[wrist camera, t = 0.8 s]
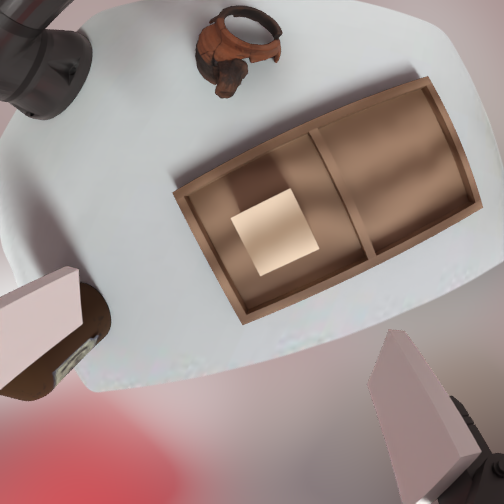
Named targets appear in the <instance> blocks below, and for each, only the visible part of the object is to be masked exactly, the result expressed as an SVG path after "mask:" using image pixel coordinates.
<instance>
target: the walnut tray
mask: <svg viewBox="0 0 504 504" xmlns="http://www.w3.org/2000/svg"><path fill="white" fill-rule="evenodd" d="M290 188H291V190H292V192H293V194H294V196H295V198H296V200H297V203H298V205H299V207H300V209H301V211H302V213H303V215H304V217H305V219H306V221H307V223H308V225H309V227H310V229H311V232H312V234H313V236H314V238H315V240H316V242H317V245H318V247H319V249H318V250H316V251H314V252H312V253H310V254H308V255H305V256H303V257H301V258H299V259H297V260H295V261H292V262H290V263H288V264H286V265H284V266H282V267H279V268H277V269H275V270H273V271H271V272H269V273H266V274H264V275H262V276H260V275H259V273H258V271H257V269H256V267H255V265H254V263H253V261H252V259H251V257H250V255H249V253H248V251H247V249H246V247H245V246H244V244H243V242H242V240H241V238H240V236H239V234H238V232H237V230H236V228H235V226H234V224H233V222H232V220H231V218H232V217H234V216H236V215H238V214H239V213H241V212H243V211H245V210H247V209H249V208H251V207H253V206H255V205H257V204H259V203H261V202H263V201H265V200H267V199H269V198H271V197H273V196H275V195H277V194H279V193H281V192H284V191H286V190H288V189H290ZM173 195H174V197H175V199H176V201H177V203H178V205H179V207H180V209H181V211H182V213H183V215H184V217H185V219H186V221H187V223H188V225H189V227H190V229H191V231H192V233H193V235H194V237H195V238H196V240H197V242H198V244H199V246H200V248H201V250H202V252H203V254H204V256H205V257H206V259H207V261H208V263H209V265H210V267H211V269H212V271H213V272H214V274H215V276H216V278H217V280H218V282H219V284H220V285H221V287H222V289H223V291H224V293H225V294H226V296H227V298H228V300H229V302H230V304H231V305H232V307H233V309H234V311H235V312H236V314H237V316H238V318H239V320H240V321H241V323H242V325H244V324H247V323H249V322H252V321H254V320H257V319H259V318H262V317H264V316H266V315H269V314H271V313H274V312H276V311H278V310H281V309H283V308H285V307H288V306H290V305H292V304H295V303H297V302H299V301H302V300H304V299H306V298H308V297H311V296H313V295H315V294H317V293H320V292H322V291H324V290H326V289H328V288H330V287H333V286H335V285H337V284H339V283H341V282H343V281H345V280H348V279H350V278H352V277H354V276H356V275H358V274H360V273H362V272H364V271H366V270H368V269H370V268H372V267H374V266H376V265H379V264H381V263H383V262H385V261H386V260H388V259H390V258H392V257H394V256H396V255H398V254H400V253H402V252H404V251H406V250H408V249H410V248H412V247H414V246H415V245H417V244H419V243H421V242H423V241H425V240H427V239H429V238H430V237H432V236H434V235H436V234H438V233H439V232H441V231H443V230H445V229H447V228H448V227H450V226H452V225H454V224H455V223H457V222H459V221H461V220H462V219H464V218H466V217H468V216H469V215H471V214H473V213H474V212H476V211H478V210H479V209H481V208H483V206H482V202H481V199H480V195H479V192H478V189H477V186H476V182H475V179H474V176H473V174H472V171H471V168H470V165H469V162H468V160H467V157H466V154H465V152H464V149H463V147H462V144H461V142H460V139H459V137H458V135H457V132H456V130H455V128H454V126H453V124H452V121H451V119H450V117H449V115H448V113H447V111H446V109H445V107H444V105H443V103H442V101H441V99H440V97H439V95H438V93H437V91H436V90H435V88H434V86H433V84H432V82H431V81H430V79H429V77H428V76H427V77H423V78H420V79H417V80H414V81H411V82H408V83H405V84H402V85H399V86H396V87H393V88H390V89H388V90H385V91H382V92H379V93H377V94H374V95H371V96H369V97H366V98H363V99H361V100H358V101H356V102H353V103H351V104H348V105H346V106H343V107H341V108H338V109H336V110H334V111H331V112H329V113H327V114H324V115H322V116H320V117H317V118H315V119H313V120H311V121H308V122H306V123H304V124H302V125H299V126H297V127H295V128H293V129H291V130H289V131H287V132H284V133H282V134H280V135H278V136H276V137H274V138H272V139H270V140H268V141H266V142H264V143H262V144H260V145H258V146H256V147H254V148H252V149H250V150H248V151H246V152H244V153H242V154H240V155H238V156H236V157H235V158H233V159H231V160H229V161H227V162H225V163H223V164H222V165H220V166H218V167H216V168H214V169H212V170H211V171H209V172H207V173H205V174H204V175H202V176H200V177H198V178H196V179H195V180H193V181H191V182H190V183H188V184H186V185H184V186H183V187H181V188H179V189H178V190H176V191H174V192H173Z"/></svg>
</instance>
